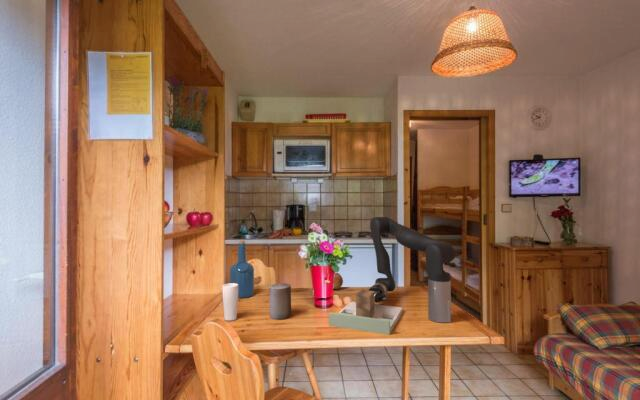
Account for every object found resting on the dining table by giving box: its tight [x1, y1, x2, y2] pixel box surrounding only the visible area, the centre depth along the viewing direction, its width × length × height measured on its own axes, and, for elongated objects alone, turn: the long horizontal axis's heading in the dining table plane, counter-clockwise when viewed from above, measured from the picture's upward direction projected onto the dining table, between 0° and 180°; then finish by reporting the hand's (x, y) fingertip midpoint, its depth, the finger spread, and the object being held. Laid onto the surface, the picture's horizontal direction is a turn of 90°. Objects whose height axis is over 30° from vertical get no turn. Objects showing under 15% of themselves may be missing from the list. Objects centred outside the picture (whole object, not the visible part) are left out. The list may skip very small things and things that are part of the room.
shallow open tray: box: [328, 301, 404, 336], centre depth 149 cm, size 25×30×5 cm
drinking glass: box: [222, 282, 239, 322], centre depth 149 cm, size 7×7×15 cm
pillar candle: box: [268, 282, 292, 321], centre depth 153 cm, size 10×10×15 cm
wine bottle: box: [228, 240, 255, 299], centre depth 186 cm, size 14×13×30 cm
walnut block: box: [355, 289, 376, 318], centre depth 146 cm, size 6×8×10 cm
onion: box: [333, 272, 344, 291], centre depth 199 cm, size 10×10×10 cm
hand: (368, 301), depth 150 cm, fingers closed
